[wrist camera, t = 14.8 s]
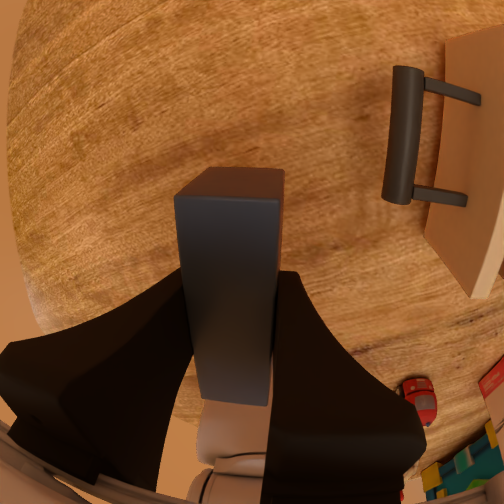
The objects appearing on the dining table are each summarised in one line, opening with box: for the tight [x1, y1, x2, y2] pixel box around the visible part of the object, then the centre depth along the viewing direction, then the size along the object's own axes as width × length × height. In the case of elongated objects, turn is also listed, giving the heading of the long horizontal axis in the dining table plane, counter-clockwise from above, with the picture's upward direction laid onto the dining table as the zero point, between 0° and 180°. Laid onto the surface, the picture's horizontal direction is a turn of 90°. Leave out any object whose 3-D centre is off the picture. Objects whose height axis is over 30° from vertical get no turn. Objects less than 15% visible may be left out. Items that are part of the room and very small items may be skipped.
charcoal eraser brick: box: [174, 167, 285, 407], centre depth 10 cm, size 3×8×3 cm, turn 179°
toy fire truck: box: [396, 378, 437, 501], centre depth 23 cm, size 3×14×10 cm, turn 178°
